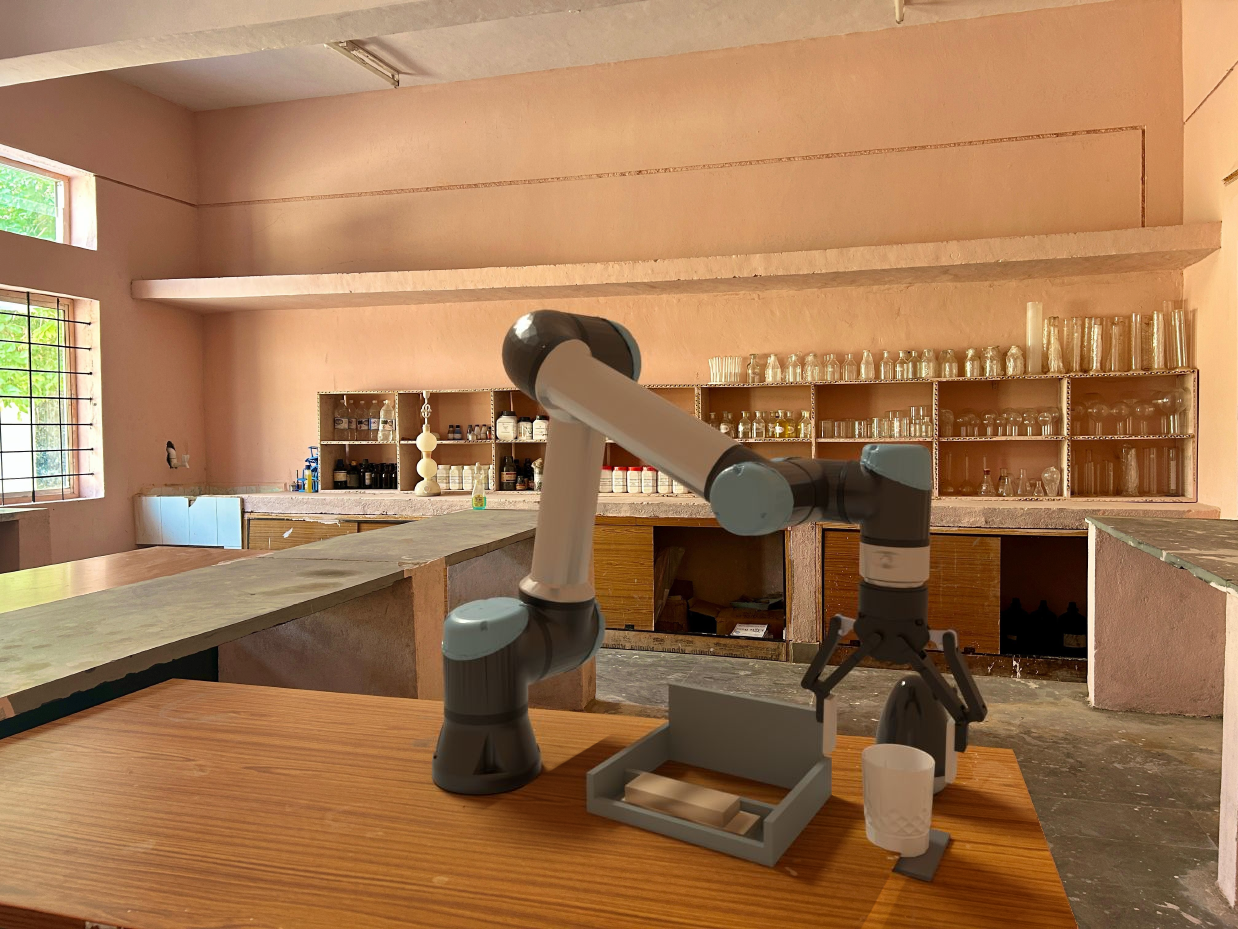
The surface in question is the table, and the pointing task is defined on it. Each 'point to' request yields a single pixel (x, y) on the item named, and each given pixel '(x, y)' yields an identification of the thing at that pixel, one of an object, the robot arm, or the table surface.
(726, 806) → the upper offcut
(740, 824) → the block
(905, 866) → the mat
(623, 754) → the rack
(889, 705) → the pump dispenser
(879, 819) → the white cup
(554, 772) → the table surface
